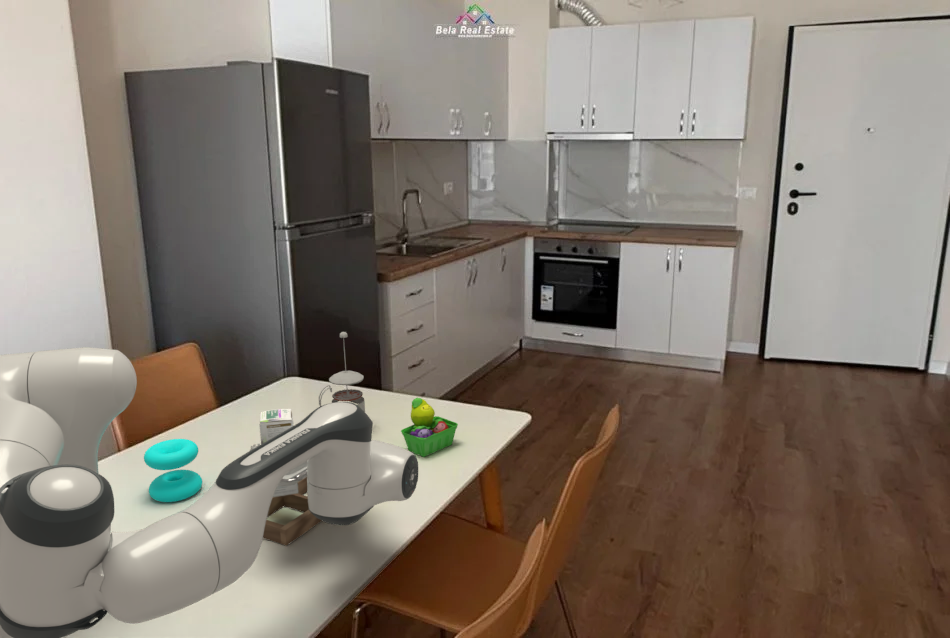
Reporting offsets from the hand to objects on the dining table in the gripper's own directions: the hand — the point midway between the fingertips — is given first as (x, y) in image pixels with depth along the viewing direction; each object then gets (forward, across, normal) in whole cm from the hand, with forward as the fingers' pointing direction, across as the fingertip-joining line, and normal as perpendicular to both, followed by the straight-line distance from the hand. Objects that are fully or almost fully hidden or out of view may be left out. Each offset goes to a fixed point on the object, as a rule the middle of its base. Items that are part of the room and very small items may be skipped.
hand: (274, 443), depth 129 cm
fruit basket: (-7, +40, -16) cm, 44 cm away
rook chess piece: (+15, +10, -16) cm, 24 cm away
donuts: (+27, -1, -16) cm, 32 cm away
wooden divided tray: (-1, +5, -16) cm, 16 cm away
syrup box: (-1, 0, -9) cm, 9 cm away
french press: (+15, +38, -16) cm, 44 cm away
